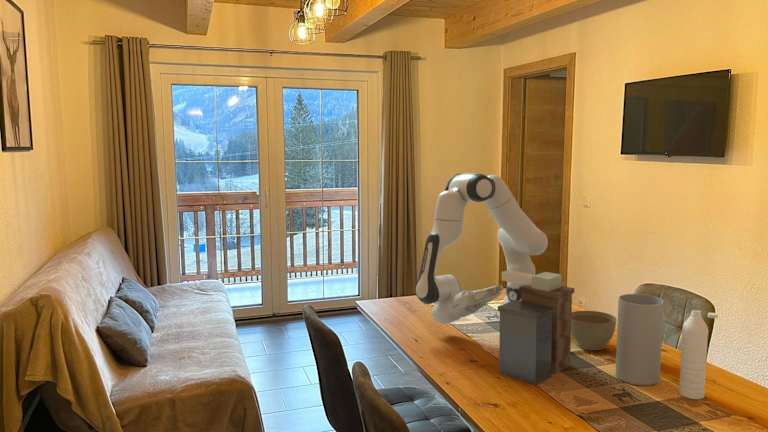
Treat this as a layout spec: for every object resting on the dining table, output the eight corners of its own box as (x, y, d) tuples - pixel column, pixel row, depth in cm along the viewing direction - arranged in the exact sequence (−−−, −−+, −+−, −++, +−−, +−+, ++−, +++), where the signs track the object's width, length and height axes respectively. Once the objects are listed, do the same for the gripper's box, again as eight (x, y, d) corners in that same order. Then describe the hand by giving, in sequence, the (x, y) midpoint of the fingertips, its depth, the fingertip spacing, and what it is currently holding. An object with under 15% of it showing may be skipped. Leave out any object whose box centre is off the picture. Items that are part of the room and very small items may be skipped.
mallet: (511, 277, 200) (511, 266, 200) (561, 286, 187) (561, 274, 186) (498, 281, 195) (498, 269, 194) (548, 291, 181) (548, 279, 181)
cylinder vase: (656, 390, 169) (660, 307, 166) (611, 381, 176) (614, 301, 172) (662, 374, 180) (666, 297, 176) (619, 367, 186) (622, 291, 183)
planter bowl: (622, 345, 205) (623, 315, 204) (604, 358, 194) (605, 327, 192) (579, 335, 216) (580, 307, 215) (559, 347, 205) (560, 317, 203)
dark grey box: (514, 364, 190) (515, 299, 187) (553, 376, 180) (554, 308, 177) (496, 373, 183) (497, 306, 180) (535, 386, 173) (537, 315, 170)
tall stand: (534, 354, 198) (535, 281, 194) (572, 365, 188) (574, 288, 184) (518, 362, 191) (519, 286, 188) (556, 374, 181) (558, 294, 178)
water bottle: (675, 394, 166) (679, 310, 162) (683, 387, 170) (688, 305, 167) (708, 404, 159) (713, 317, 156) (716, 397, 164) (721, 312, 161)
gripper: (445, 300, 204) (472, 287, 195) (480, 289, 218) (506, 276, 209) (452, 317, 203) (479, 304, 193) (486, 305, 217) (514, 292, 207)
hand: (494, 290), depth 201 cm, fingers open, 8 cm apart
